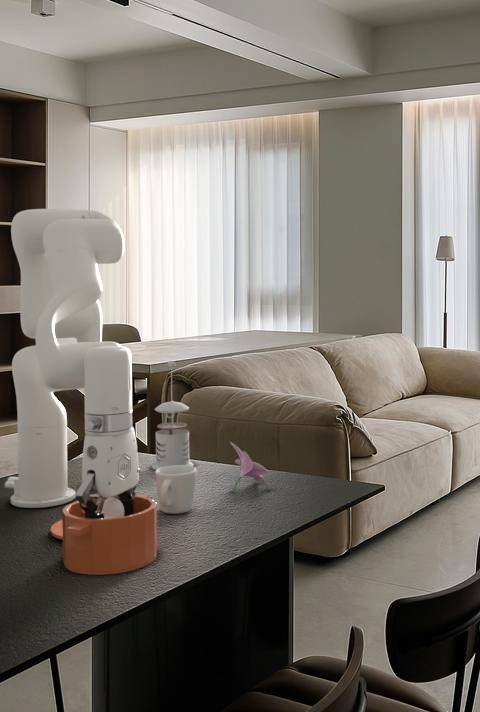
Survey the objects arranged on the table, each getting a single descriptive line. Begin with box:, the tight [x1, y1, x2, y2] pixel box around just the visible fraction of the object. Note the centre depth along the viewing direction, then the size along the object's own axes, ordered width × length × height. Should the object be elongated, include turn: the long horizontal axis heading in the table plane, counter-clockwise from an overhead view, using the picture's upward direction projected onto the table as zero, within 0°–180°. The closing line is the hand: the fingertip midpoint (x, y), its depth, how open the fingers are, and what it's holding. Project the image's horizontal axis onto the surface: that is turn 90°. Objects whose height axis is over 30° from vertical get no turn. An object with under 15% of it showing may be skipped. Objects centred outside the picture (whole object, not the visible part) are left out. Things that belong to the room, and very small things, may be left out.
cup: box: [154, 465, 198, 515], centre depth 165 cm, size 11×8×8 cm
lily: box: [229, 441, 271, 493], centre depth 181 cm, size 12×12×10 cm
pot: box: [61, 494, 158, 576], centre depth 139 cm, size 15×20×8 cm
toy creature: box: [101, 498, 124, 518], centre depth 139 cm, size 5×8×6 cm, turn 0°
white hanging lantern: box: [151, 360, 194, 471], centre depth 204 cm, size 10×12×25 cm
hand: (110, 529), depth 139 cm, fingers closed on toy creature, 7 cm apart
